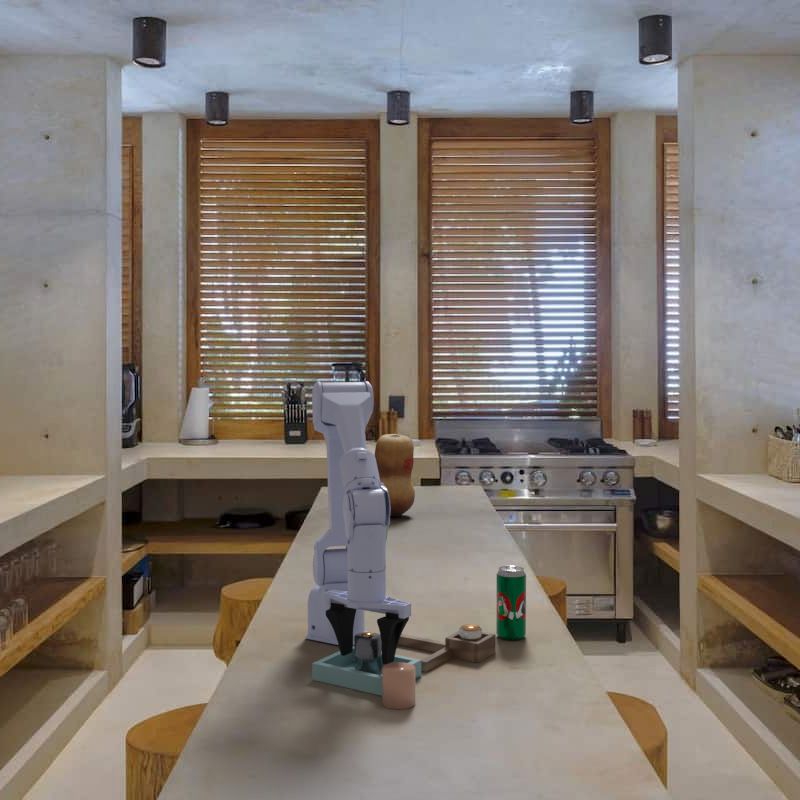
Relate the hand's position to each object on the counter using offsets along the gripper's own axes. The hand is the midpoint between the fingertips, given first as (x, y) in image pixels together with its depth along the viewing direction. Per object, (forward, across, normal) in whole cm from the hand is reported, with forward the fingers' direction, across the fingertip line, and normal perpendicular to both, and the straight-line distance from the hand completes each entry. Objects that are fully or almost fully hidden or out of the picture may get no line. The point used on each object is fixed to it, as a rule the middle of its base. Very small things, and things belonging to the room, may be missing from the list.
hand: (367, 658), depth 139 cm
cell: (+3, 0, 0) cm, 3 cm away
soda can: (+3, +10, +30) cm, 32 cm away
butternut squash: (+3, -74, +121) cm, 142 cm away
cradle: (+3, 0, +12) cm, 12 cm away
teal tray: (+3, 0, 0) cm, 3 cm away
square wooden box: (+3, +8, +18) cm, 20 cm away
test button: (+1, +8, +18) cm, 20 cm away
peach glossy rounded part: (+3, +10, -6) cm, 12 cm away
